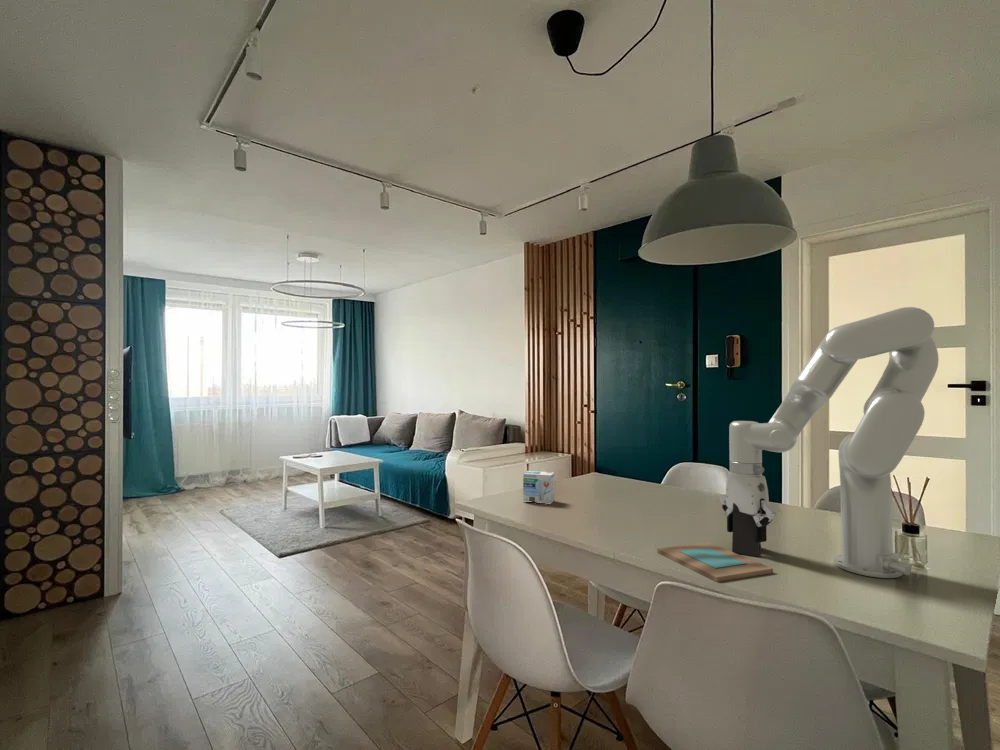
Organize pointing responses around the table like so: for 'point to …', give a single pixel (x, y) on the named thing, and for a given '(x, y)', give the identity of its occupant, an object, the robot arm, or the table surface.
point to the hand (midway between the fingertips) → (746, 536)
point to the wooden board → (714, 561)
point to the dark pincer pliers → (744, 534)
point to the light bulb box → (538, 486)
